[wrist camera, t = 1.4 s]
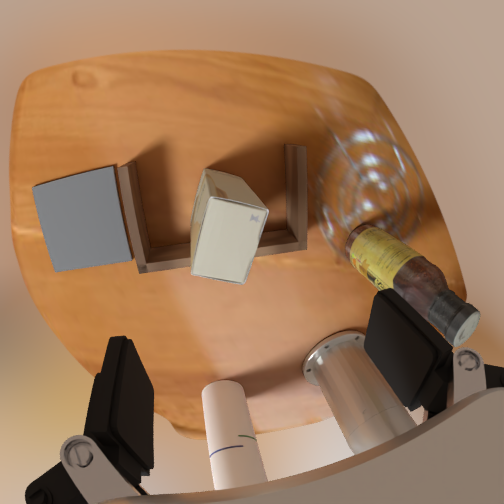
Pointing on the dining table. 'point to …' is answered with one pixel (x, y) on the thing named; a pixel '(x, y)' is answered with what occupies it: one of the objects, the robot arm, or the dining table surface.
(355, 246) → the sauce bottle
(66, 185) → the grey rubber mat
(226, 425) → the cylindrical container
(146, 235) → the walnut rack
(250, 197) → the skincare box
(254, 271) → the dining table surface
